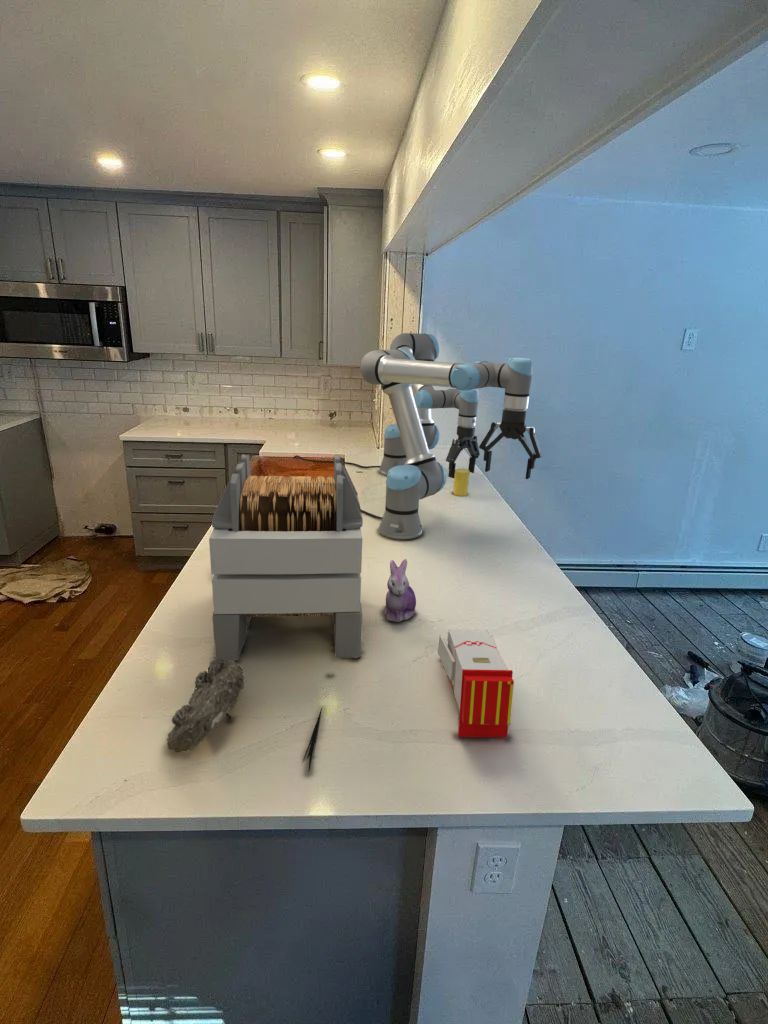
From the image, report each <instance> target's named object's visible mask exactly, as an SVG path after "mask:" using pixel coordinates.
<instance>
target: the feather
mask: <svg viewBox="0 0 768 1024" xmlns="http://www.w3.org/2000/svg"><path fill="white" fill-rule="evenodd" d="M329 675H330V676H331V675H332V674H331V673H330V674H329ZM322 710H323V707H321V708H320V710H319V713H318V716H317V719H316V723H315V725H314V728H313V731H312V733H311V737H310V739H309V742H308V745H307V748H306V751H305V754H304V757H303V760H302V763H301V767H302V765H303V763H304V761H305V758H308V759H309V760H308V762H307V763H308V764H307V766H308V771H310V770H311V766H312V765H311V764H312V760H313V757H315V756H314V755H315V751H316V749H315V746H317V739H318V733H319V729H320V722H321V717H322V712H323V711H322ZM313 754H314V755H313ZM306 755H307V757H306Z"/></svg>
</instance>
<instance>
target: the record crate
mask: <svg viewBox="0 0 768 1024" xmlns="http://www.w3.org/2000/svg"><path fill="white" fill-rule="evenodd" d="M333 461H334V463H333V469H334V470H333V476H327V477H325V476H321V475H319V476H314V477H313V476H311V475H309V476H307V475H290V476H283V475H279V476H278V475H265V476H264V475H259V476H258V475H251V459H250V454H243V453H242V454H241V456H240V459H239V461H238V462H237V464H236V466H235V469H234V471H233V473H232V474H231V475H230V478H229V479H228V482H227V484H226V486H225V489H224V491H223V493H222V496H221V498H220V500H219V502H218V504H217V507H216V508H215V511H214V513H213V516H212V518H211V527H212V528H213V529H212V531H211V534H210V535H209V538H208V543H209V559H210V574H211V575H213V576H212V579H211V587H212V588H211V589H212V600H213V601H212V603H213V612H212V629H213V630H212V631H213V640H214V649H215V657H214V660H217V661H224V660H227V659H228V660H231V659H232V660H234V661H238V660H239V658H240V654H241V653H242V649H243V647H244V645H245V642H246V640H247V636H248V632H247V630H248V629H247V627H249V626H250V624H251V623H250V622H251V618H253V617H254V618H255V617H258V618H259V617H264V618H265V617H267V618H268V617H292V616H293V617H308V616H310V617H311V616H333V618H332V619H333V626H334V627H333V636H334V638H333V639H334V640H333V641H334V658H337V659H342V658H344V659H345V658H347V659H349V658H352V659H358V658H359V657H361V656H362V633H363V632H362V631H363V630H362V629H363V611H362V603H361V590H362V576H361V574H362V563H363V562H362V561H363V534H362V529H361V528H362V527H363V525H364V524H363V523H364V519H363V515H362V512H361V510H362V509H361V505H360V499H359V494H358V492H357V489H356V487H355V485H354V483H353V481H352V478H351V477H350V474H349V472H348V470H347V468H346V466H345V465H346V464H344V463H343V462H344V461H343V459H342V456H341V455H336V454H334V458H333Z"/></svg>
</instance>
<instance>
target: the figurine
mask: <svg viewBox="0 0 768 1024" xmlns="http://www.w3.org/2000/svg"><path fill="white" fill-rule="evenodd" d="M407 567H408V559H406V558H404V559H403V560H402V561H401V563H400V565H399V566H398V565H397V563H396V562H395V561H394V560H393V559H391V560H390V561H389V570H390V576H389V578H388V579H387V589H388V591H387V592H386V594H385V595H386V596H385V607H384V615H385V616H386V620H387V621H391V622H395V623H400V622H402V621H406V620H409V619H410V618H411V617H413V616H414V615H415V610H416V606H417V597H416V593H415V591H414V590H413V587H411V586H410V582H409V579H408V577H407V574H406V571H407Z"/></svg>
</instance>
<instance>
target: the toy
mask: <svg viewBox="0 0 768 1024" xmlns="http://www.w3.org/2000/svg"><path fill="white" fill-rule="evenodd" d="M446 640H447V643H446V641H445V639H444V636H443V635H442V634H439V637H438V646H437V656H438V657H439V659H440V661H441V663H442V666H443V668H444V670H445V672H446V674H447V677H448V679H449V681H450V684H451V687H452V690H453V693H454V697H455V701H456V705H457V708H458V711H459V714H458V715H459V716H458V730H457V731H458V732H457V737H458V738H508V731H509V726H510V725H511V717H512V707H513V697H514V696H513V695H514V684H515V680H514V679H513V673H514V671H513V670H512V669H508V667H507V665H506V662H505V661H504V659H503V658H502V655H501V653H500V651H499V649H498V647H497V643H496V639H495V637H494V635H493V634H491V632H490V631H489V629H467V628H466V629H465V628H463V629H461V628H460V629H459V628H448V630H447V639H446Z"/></svg>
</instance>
